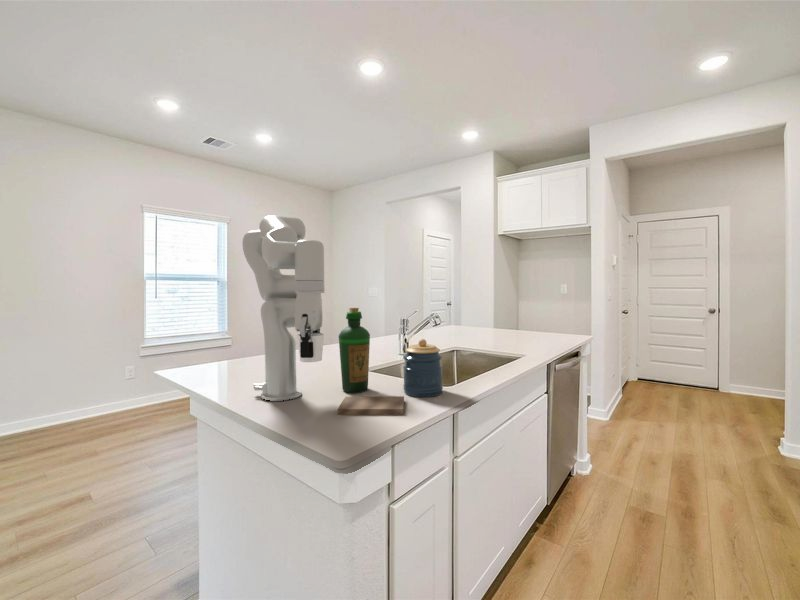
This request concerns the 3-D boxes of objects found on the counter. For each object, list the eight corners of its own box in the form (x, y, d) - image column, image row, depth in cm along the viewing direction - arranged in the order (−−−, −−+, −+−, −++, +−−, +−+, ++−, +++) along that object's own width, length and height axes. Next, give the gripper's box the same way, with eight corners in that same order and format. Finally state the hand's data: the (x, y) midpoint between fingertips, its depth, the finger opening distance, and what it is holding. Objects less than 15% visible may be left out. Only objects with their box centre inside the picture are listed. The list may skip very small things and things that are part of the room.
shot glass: (327, 357, 102) (327, 332, 102) (319, 363, 95) (319, 335, 95) (303, 357, 102) (302, 332, 102) (293, 362, 96) (293, 335, 95)
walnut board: (337, 414, 102) (337, 409, 102) (345, 401, 114) (345, 396, 114) (403, 414, 101) (403, 409, 101) (404, 401, 113) (404, 396, 113)
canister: (451, 393, 121) (450, 339, 120) (418, 400, 114) (417, 343, 113) (427, 385, 132) (426, 335, 131) (396, 390, 125) (395, 338, 124)
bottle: (364, 395, 120) (362, 308, 119) (334, 393, 123) (332, 308, 122) (375, 386, 130) (374, 307, 129) (347, 385, 133) (346, 307, 132)
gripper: (305, 287, 107) (306, 349, 107) (284, 287, 89) (285, 361, 90) (331, 287, 106) (332, 349, 107) (315, 287, 89) (316, 361, 90)
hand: (310, 354), depth 99 cm, fingers closed on shot glass, 6 cm apart
